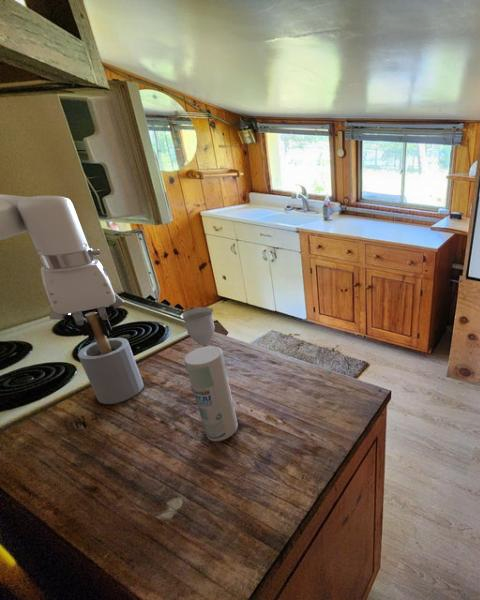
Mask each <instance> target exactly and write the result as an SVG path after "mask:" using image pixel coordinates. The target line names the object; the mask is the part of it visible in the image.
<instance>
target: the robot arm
mask: <svg viewBox="0 0 480 600" xmlns="http://www.w3.org/2000/svg"><path fill="white" fill-rule="evenodd" d="M24 233H28V235H29V236H30V239H31V241H32V243H33V245H34V248H35V249H36V252H37V254H38V256H39V259H40V261H41V263H42V265H43V266H41V267H40V275H41V279H42V283H43V287H44V291H45V293H46V296H47V299H48V301H49V303H50V312H49V319H50V320H60V321H62V320H63V321H64V320H65V321H68V322H71V323H73V324H76V325H77V326H79V327H80V330H81V332H82V334H83V336H84V337H88V339H89V341H92V340H95V338H94V336H93V333H92V331H91V328H90V326H89V324H88V322H87V319H86V317H85V316H84V315H83V313H82V312H85V311H89V310H95V309H97V313H98V314H99V315H98V317H99V322H100V325H101V327H102V330H103V332H104V335H105V336H106V337H109V336H110V331H112V326H111V323H110V321H109V317H110V316H111V314H112V313H113V312H114V311H115V310H116V309H119V307H122V306H123V305H125V302H124V299H123V298H121V297H120V296H119V295H118V294H117V292H115V290H114V286H113V285H112V282H111V280H110V278H109V275H108V274H107V271H106V269H105V267H104V266H103V265H102V263H101V262H100V260H99V259H95V258H97V257H100V256H102V253H101V250H100V249H92V248H90V246H89V244H88V241H87V238H86V235H85V233H84V231H83V228H82V225H81V223H80V220H79V217H78V214H77V212H76V209H75V207H74V205H73V202H72V201H71V200H70V199H69V198H67V197H65V196H60V195H37V196H35V195H34V196H22V195H13V194H0V242H1V241H3V240H6V239H8V238H12V237H15V236H19V235H21V234H22V235H23V234H24Z"/></svg>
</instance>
